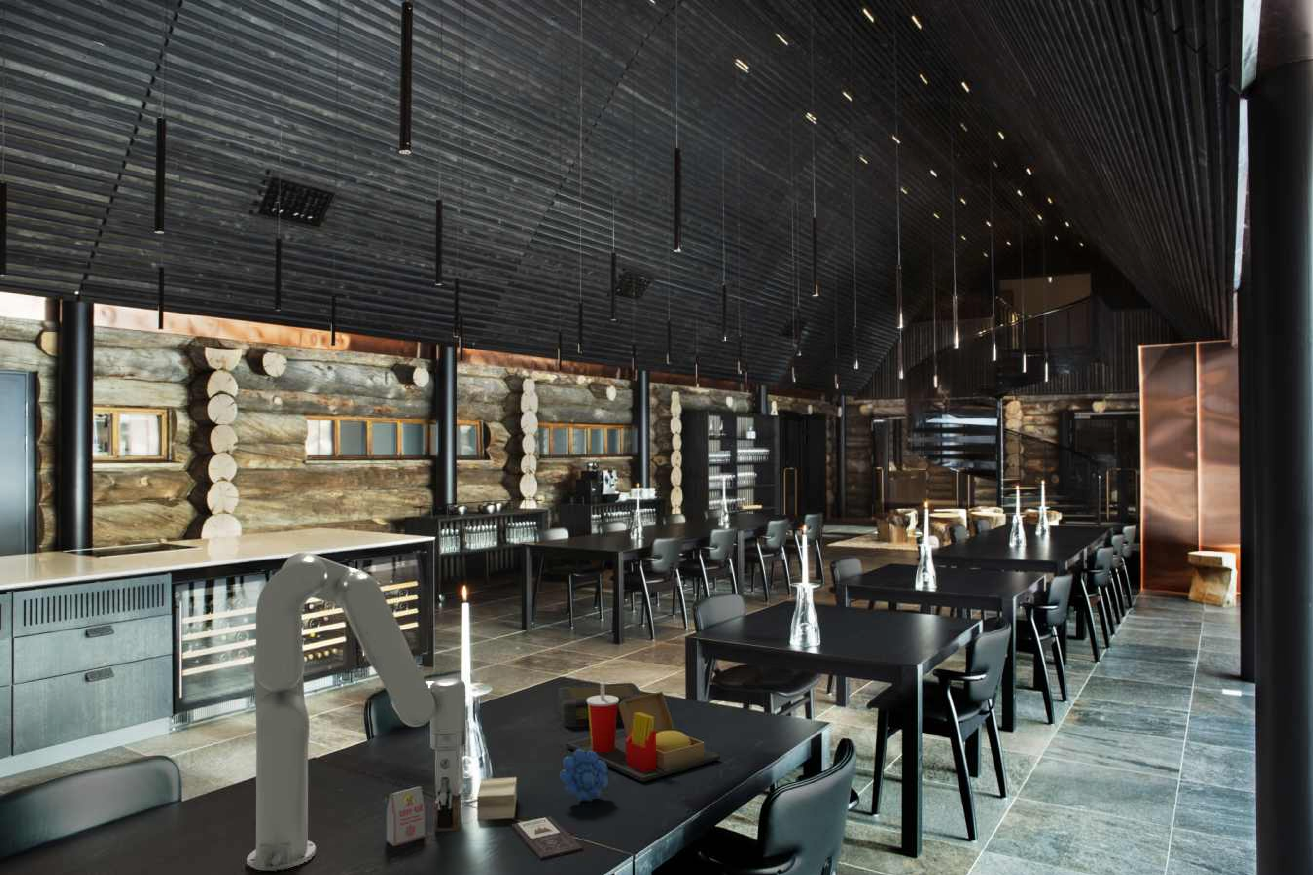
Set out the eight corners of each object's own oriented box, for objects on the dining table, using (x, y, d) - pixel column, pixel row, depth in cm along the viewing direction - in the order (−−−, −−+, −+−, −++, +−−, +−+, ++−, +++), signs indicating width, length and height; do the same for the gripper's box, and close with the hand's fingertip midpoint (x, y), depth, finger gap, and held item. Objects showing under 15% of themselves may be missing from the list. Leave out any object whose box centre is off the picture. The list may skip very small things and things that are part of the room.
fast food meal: (642, 785, 208) (641, 709, 208) (565, 749, 235) (565, 682, 236) (720, 763, 223) (719, 691, 224) (639, 731, 251) (639, 668, 252)
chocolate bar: (540, 857, 168) (511, 824, 184) (540, 862, 168) (511, 828, 184) (582, 847, 172) (550, 815, 188) (582, 852, 172) (550, 820, 188)
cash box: (634, 705, 279) (633, 681, 280) (646, 722, 259) (646, 697, 260) (557, 710, 274) (557, 686, 274) (564, 729, 254) (564, 702, 254)
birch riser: (514, 817, 188) (514, 794, 189) (477, 819, 188) (477, 796, 188) (516, 798, 199) (516, 776, 200) (481, 800, 198) (481, 778, 199)
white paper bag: (386, 840, 178) (386, 791, 178) (417, 831, 182) (417, 783, 182) (393, 846, 175) (393, 796, 175) (424, 836, 179) (424, 788, 179)
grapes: (566, 811, 191) (565, 757, 192) (557, 801, 197) (556, 748, 198) (614, 803, 196) (614, 750, 196) (604, 793, 202) (604, 741, 203)
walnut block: (458, 830, 182) (458, 802, 182) (434, 832, 182) (434, 803, 182) (461, 821, 187) (461, 793, 187) (437, 822, 187) (437, 794, 187)
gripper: (461, 749, 177) (461, 833, 176) (469, 725, 194) (470, 801, 193) (423, 751, 176) (424, 836, 175) (435, 727, 193) (436, 803, 193)
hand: (448, 818), depth 184 cm, fingers open, 9 cm apart
